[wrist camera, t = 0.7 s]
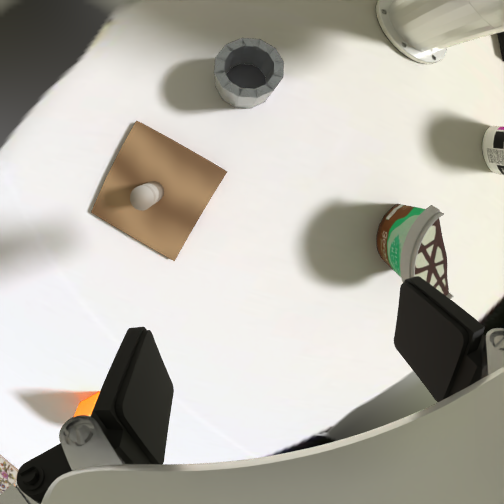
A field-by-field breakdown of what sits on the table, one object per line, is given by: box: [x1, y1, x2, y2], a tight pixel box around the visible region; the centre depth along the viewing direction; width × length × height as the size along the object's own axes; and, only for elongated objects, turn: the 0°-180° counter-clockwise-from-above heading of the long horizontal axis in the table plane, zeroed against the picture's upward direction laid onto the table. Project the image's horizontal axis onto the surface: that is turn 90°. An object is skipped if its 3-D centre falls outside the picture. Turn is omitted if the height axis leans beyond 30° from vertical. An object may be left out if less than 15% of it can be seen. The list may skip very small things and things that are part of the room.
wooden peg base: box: [91, 121, 227, 261], centre depth 29 cm, size 12×12×6 cm
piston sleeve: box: [214, 38, 284, 108], centre depth 25 cm, size 6×6×6 cm
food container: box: [377, 204, 453, 299], centre depth 32 cm, size 12×6×10 cm, turn 25°
